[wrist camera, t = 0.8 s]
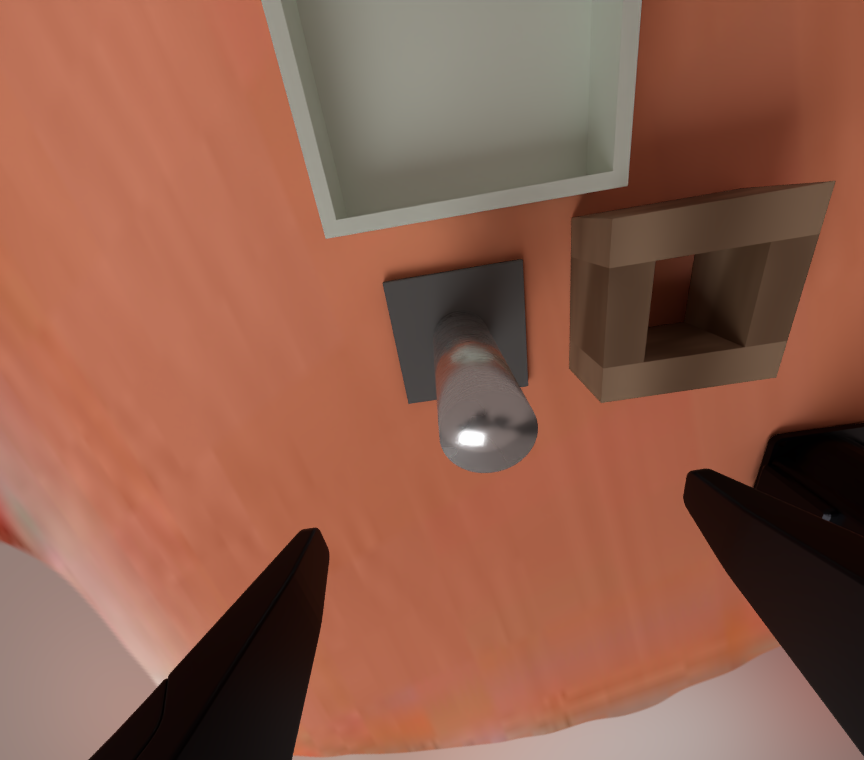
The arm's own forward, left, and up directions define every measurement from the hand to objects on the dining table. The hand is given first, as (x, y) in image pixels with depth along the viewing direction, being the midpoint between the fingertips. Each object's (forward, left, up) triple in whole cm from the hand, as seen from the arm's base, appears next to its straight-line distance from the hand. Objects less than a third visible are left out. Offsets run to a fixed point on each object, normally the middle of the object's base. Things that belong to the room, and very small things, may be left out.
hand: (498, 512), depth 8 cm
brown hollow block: (-10, -2, -12) cm, 16 cm away
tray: (-1, -13, -12) cm, 17 cm away
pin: (0, -1, -12) cm, 12 cm away
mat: (0, -1, -12) cm, 12 cm away
